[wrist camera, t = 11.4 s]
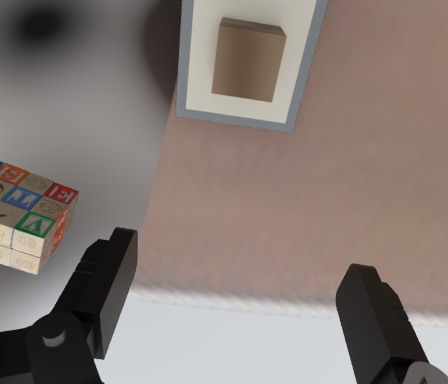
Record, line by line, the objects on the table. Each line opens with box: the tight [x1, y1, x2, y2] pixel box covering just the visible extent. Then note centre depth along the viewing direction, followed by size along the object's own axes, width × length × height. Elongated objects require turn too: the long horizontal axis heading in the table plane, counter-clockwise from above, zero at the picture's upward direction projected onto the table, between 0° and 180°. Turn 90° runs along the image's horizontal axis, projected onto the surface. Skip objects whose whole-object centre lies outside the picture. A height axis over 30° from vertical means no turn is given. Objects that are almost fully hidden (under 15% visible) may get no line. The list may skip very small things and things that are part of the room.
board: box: [176, 0, 328, 133], centre depth 31 cm, size 12×14×2 cm
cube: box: [211, 17, 287, 102], centre depth 28 cm, size 5×5×5 cm
